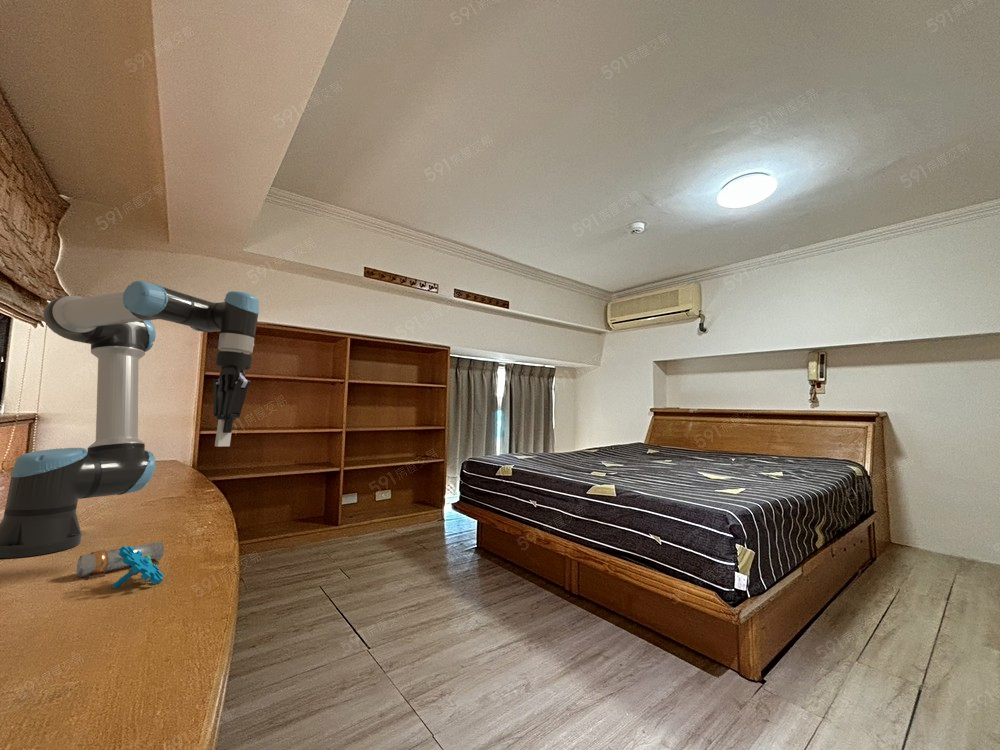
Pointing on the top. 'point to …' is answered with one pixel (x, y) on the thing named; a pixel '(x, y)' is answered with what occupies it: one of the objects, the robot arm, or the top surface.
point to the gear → (138, 566)
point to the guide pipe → (114, 560)
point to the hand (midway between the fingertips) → (222, 446)
